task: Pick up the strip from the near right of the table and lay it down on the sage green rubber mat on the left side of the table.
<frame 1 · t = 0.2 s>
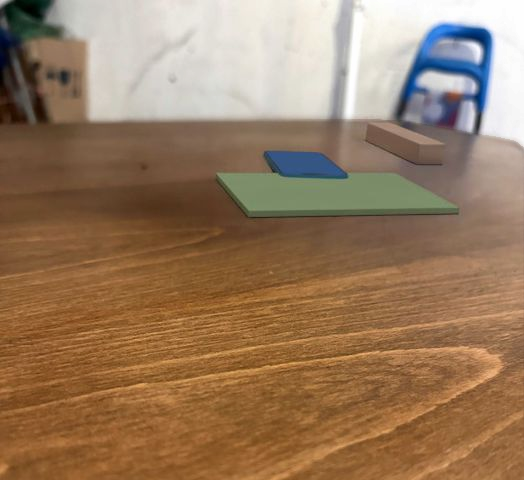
smartphone: (302, 171, 76), on the table, touching mat
strip: (400, 151, 88), on the table
mat: (330, 195, 65), on the table
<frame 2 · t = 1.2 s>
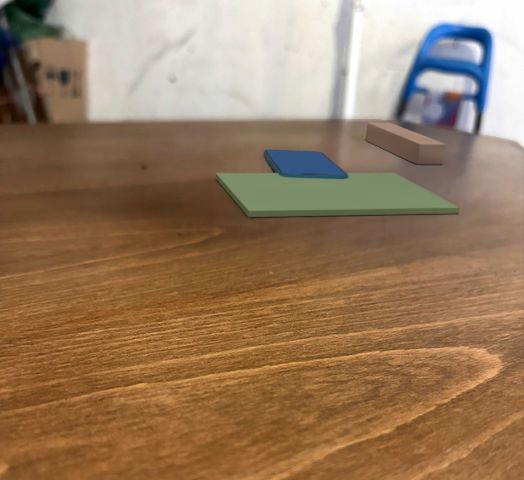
nothing on the table moved.
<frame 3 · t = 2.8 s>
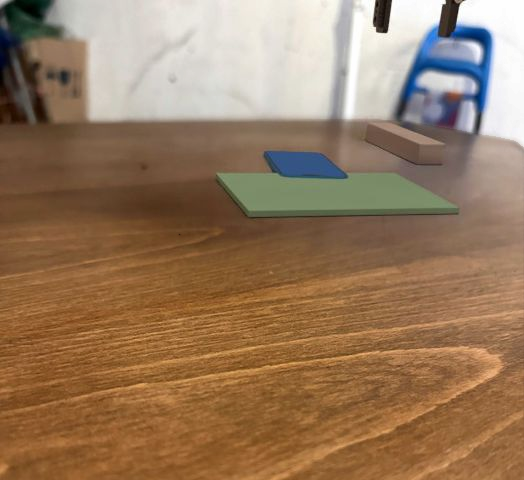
hand: (413, 35, 83), 14 cm above the table, tool pointing down, fingers open, 8 cm apart
smartphone: (302, 172, 76), on the table
everything else where it was.
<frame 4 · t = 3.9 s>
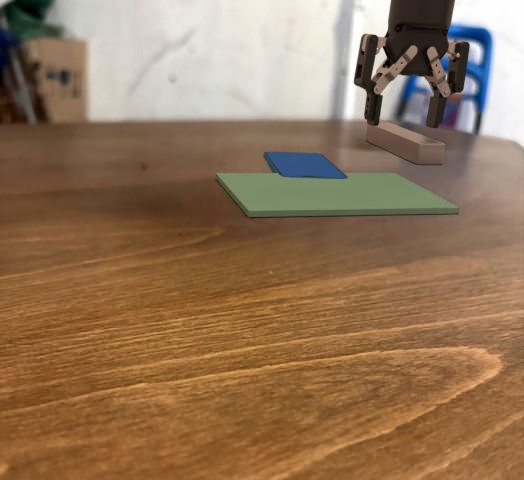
hand: (402, 126, 86), 3 cm above the table, tool pointing down, fingers open, 8 cm apart
nothing on the table moved.
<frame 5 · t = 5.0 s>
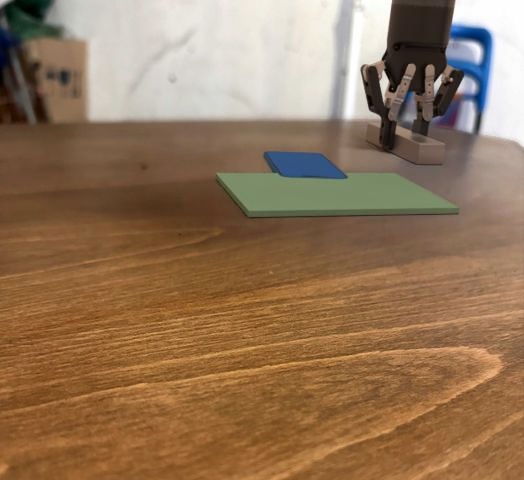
hand: (401, 148, 88), 0 cm above the table, tool pointing down, fingers closed on strip, 3 cm apart
strip: (400, 151, 88), on the table, touching gripper
everything else where it was.
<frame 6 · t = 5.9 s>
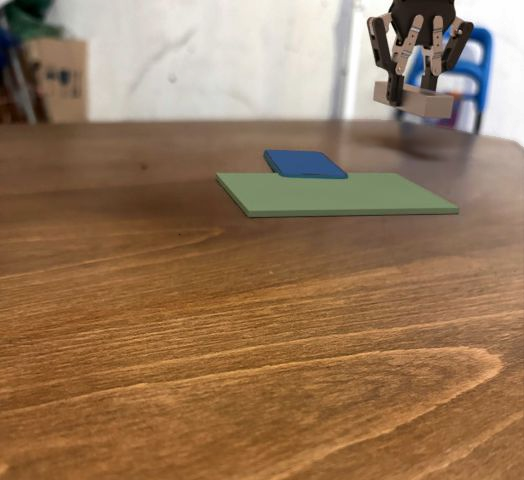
hand: (409, 105, 86), 6 cm above the table, tool pointing down, fingers closed on strip, 3 cm apart
smartphone: (302, 171, 75), on the table, touching mat
strip: (408, 108, 86), point 5 cm above the table, touching gripper
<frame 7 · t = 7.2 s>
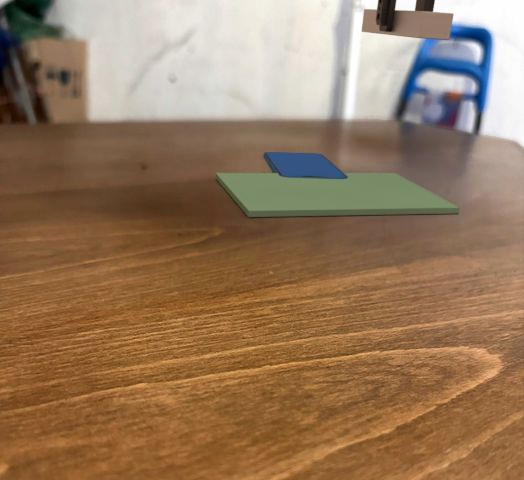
hand: (402, 31, 76), 14 cm above the table, tool pointing down, fingers closed on strip, 3 cm apart
smartphone: (301, 173, 76), on the table
strip: (401, 35, 76), point 14 cm above the table, touching gripper
when the fingers open (1 cm above the table, at t = 12.1 s): strip stays where it is, resting on mat.
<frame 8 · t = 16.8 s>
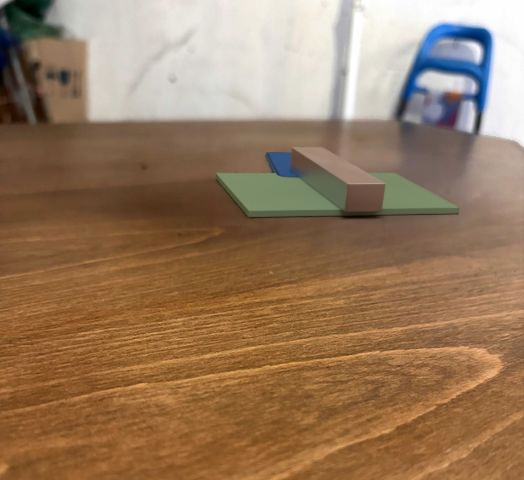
strip: (331, 189, 65), point 1 cm above the table, touching mat
everything else where it was.
at the end: strip inside the target area on the mat (0.1 cm from its centre), point 0.6 cm above the mat's base; the gripper is holding nothing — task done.
